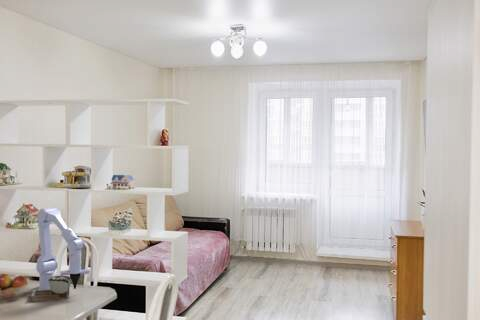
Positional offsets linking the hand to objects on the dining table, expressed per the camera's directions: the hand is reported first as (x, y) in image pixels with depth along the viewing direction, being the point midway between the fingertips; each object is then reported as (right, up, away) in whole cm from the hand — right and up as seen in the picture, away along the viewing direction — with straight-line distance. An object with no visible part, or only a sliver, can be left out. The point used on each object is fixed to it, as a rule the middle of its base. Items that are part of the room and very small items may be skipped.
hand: (74, 288), depth 245 cm
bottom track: (-13, -4, -4) cm, 14 cm away
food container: (-6, -4, -1) cm, 7 cm away
